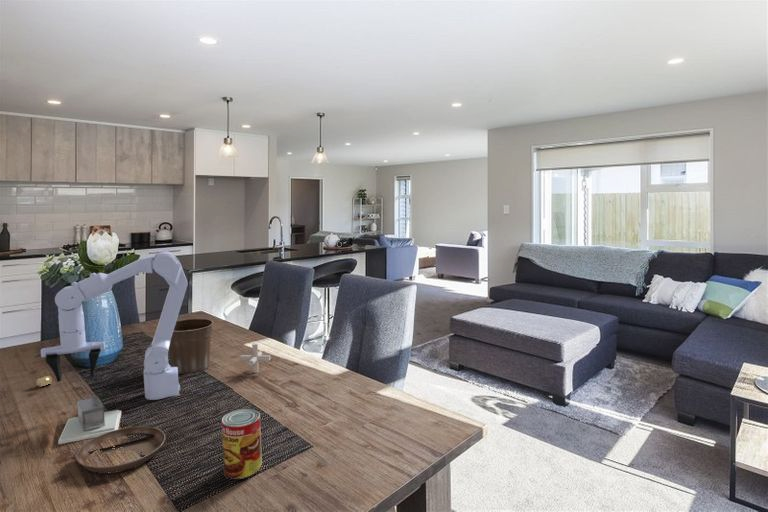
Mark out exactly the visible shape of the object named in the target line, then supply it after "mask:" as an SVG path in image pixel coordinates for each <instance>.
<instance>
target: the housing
mask: <svg viewBox="0 0 768 512" xmlns="http://www.w3.org/2000/svg"><path fill="white" fill-rule="evenodd" d="M76 405H77V414H78V415H77V417H78V419H79V422H80V424H81V427H82V429H83V431H87V430H91V429H94V428H98V427H102V426H105V420H104V412H105V411H104V408H105V407H104V404H103V403H102V401H101V400H100V398H99V397H98V396H94V397H90V398H86V399H85V398H84V399H81V400H77V402H76Z"/></svg>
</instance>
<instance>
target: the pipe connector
mask: <svg viewBox="0 0 768 512" xmlns="http://www.w3.org/2000/svg"><path fill="white" fill-rule="evenodd" d="M251 345H252V347H251V348H252V349H251V350H252V351H251V352H252V354H251V355H250V354H249V355H248V354H245V355H243V354H241V355H240V356H239V358H240V359H239V360H240V362H243V361H245V362H246V361H248V362H247V364H248V366H250V367H252V372H253V373H254V374H258V373H260V372H259V371H260V370H259V369H260V368H259V367H260V366H259V361H265V362H267V361H271V357H272V356H271V355H269V354H268V355H267V354H265V355H264V354H263V351H261V350H259V347H258V346H259V344H258V343H257V342H255V343H252V344H251Z"/></svg>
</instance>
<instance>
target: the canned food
mask: <svg viewBox="0 0 768 512" xmlns="http://www.w3.org/2000/svg"><path fill="white" fill-rule="evenodd" d="M261 430H262V429H261V413H260V412H259V411H258V410H255V409H252V408H240V409H235V410H232V411H229V412H228V413H226V414H225V415H223V417H222V418H221V434H222V435H221V436H222V437H221V438H222V456H223V474H224V473H225V474H224V476H225V475H226V476H229V477H232V478H243V477H247V476H250V475H252V474H254V473H255V472H257V471H258V470H259V469H260V467H261V465H262V466H263V462H262V460H263V459H262V436H261V434H262V433H261V432H262V431H261ZM226 476H225V477H226Z"/></svg>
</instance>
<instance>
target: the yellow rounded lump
mask: <svg viewBox="0 0 768 512" xmlns="http://www.w3.org/2000/svg"><path fill="white" fill-rule="evenodd" d="M35 382H36V386H37V385H38V386H41V387H42V386H45V385H48V384H51V385H52V384H53V379H52V376H51V375H46V376H42V377H40V378H37V379H36V381H35ZM38 386H37V387H38ZM48 386H49V385H48ZM45 387H46V386H45ZM42 388H43V387H42Z"/></svg>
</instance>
